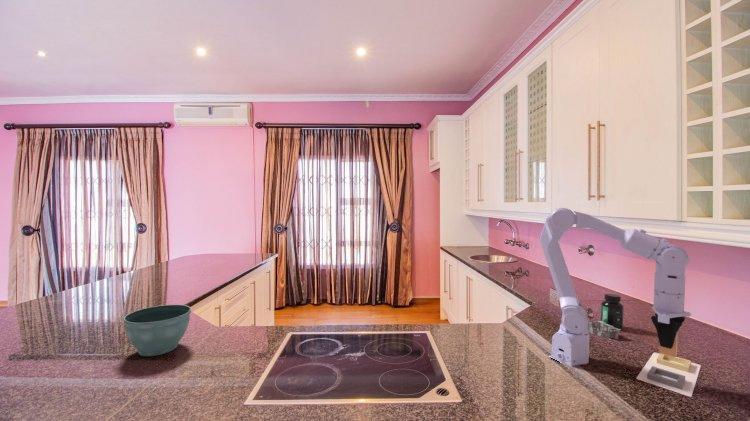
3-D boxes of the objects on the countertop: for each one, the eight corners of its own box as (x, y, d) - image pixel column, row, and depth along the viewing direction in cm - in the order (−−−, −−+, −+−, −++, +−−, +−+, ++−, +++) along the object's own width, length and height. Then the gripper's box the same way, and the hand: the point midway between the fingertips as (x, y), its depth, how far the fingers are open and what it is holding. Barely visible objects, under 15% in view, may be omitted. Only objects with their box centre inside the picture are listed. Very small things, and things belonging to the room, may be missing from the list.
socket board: (691, 400, 73) (691, 391, 73) (636, 381, 81) (636, 373, 81) (700, 367, 89) (701, 360, 89) (653, 354, 97) (654, 348, 97)
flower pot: (111, 354, 89) (111, 315, 89) (170, 334, 104) (171, 301, 104) (142, 368, 82) (143, 327, 82) (202, 345, 96) (202, 309, 96)
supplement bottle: (604, 329, 117) (605, 296, 117) (597, 322, 123) (598, 291, 123) (626, 331, 115) (627, 298, 115) (618, 325, 121) (619, 293, 121)
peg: (675, 357, 78) (676, 333, 78) (659, 353, 81) (660, 329, 81) (677, 354, 80) (677, 330, 80) (661, 349, 83) (662, 326, 83)
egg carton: (579, 328, 118) (579, 317, 118) (598, 328, 118) (599, 317, 118) (601, 340, 107) (602, 328, 107) (622, 340, 108) (623, 328, 108)
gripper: (687, 300, 73) (685, 359, 73) (694, 290, 82) (692, 343, 82) (647, 293, 78) (645, 348, 78) (658, 285, 88) (656, 334, 88)
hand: (667, 345), depth 81 cm, fingers closed on peg, 3 cm apart
